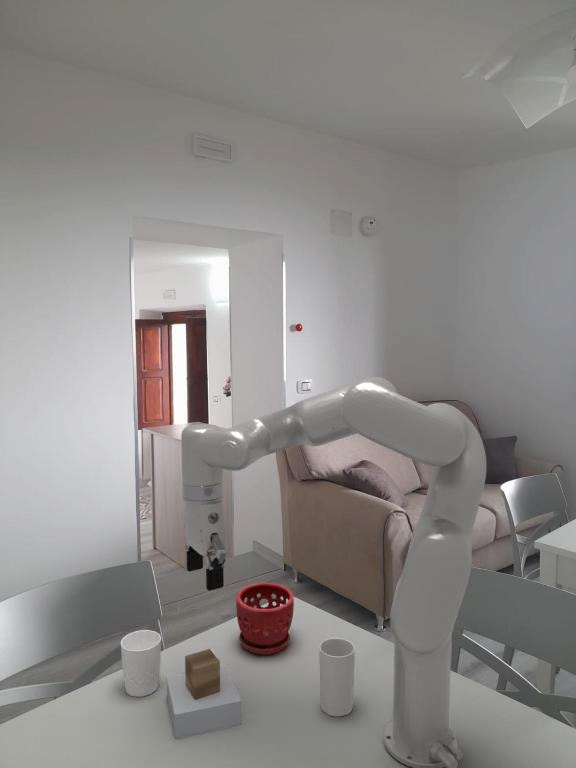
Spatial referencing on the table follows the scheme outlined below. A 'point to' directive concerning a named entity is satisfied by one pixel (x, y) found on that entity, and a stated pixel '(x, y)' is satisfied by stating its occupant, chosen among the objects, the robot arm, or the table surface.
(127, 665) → the white cup
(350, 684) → the mug
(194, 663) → the walnut block
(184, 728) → the grey block
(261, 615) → the plant pot
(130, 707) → the table surface
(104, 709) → the table surface
